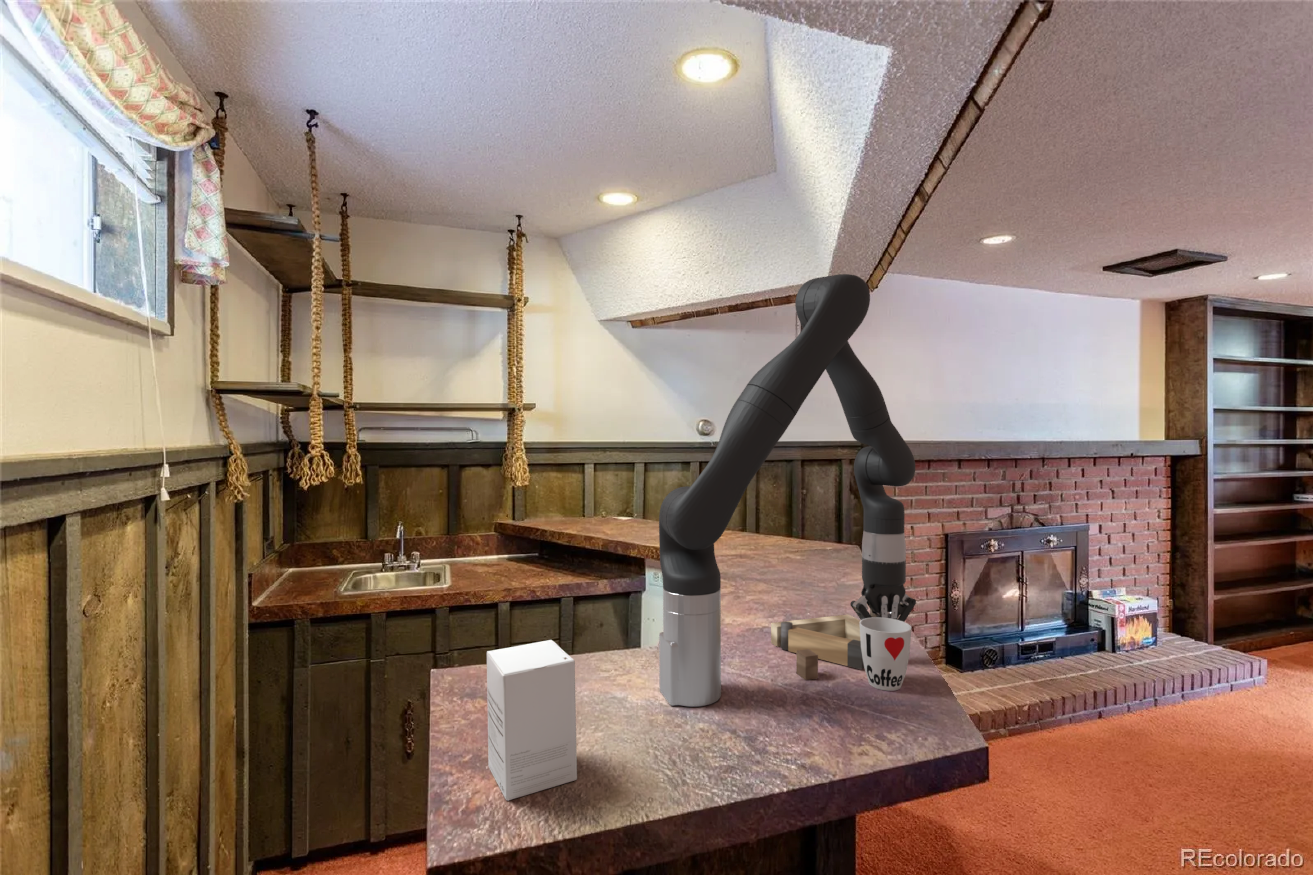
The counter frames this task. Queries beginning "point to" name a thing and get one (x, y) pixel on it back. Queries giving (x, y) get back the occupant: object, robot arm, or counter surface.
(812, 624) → the jointed wooden sticks
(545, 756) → the supplement box
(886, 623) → the cup
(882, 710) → the counter surface
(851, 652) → the leg
